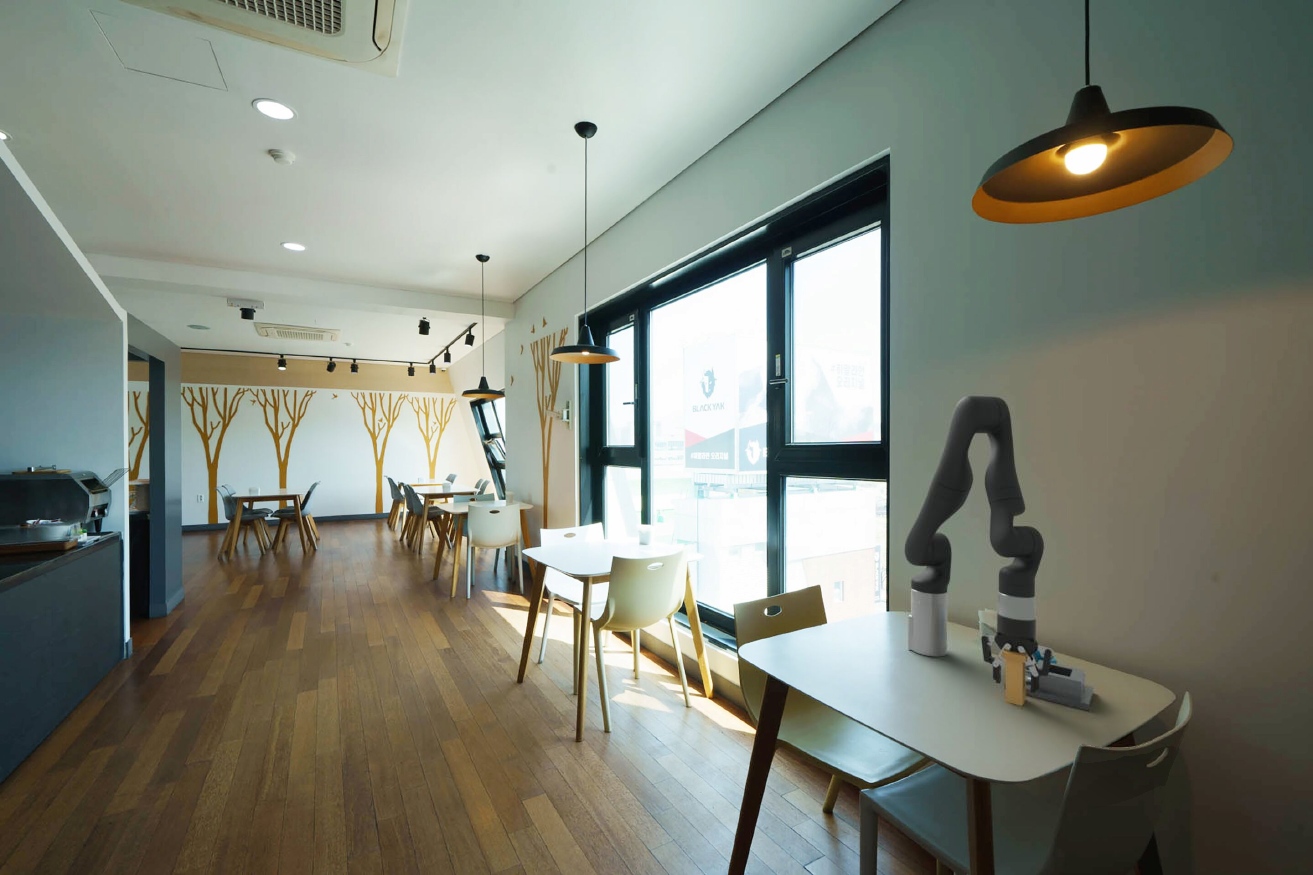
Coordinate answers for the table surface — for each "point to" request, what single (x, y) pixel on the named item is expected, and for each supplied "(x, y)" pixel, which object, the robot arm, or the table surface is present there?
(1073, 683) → the gray slotted base block
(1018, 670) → the yellow t-shaped post
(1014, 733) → the table surface
